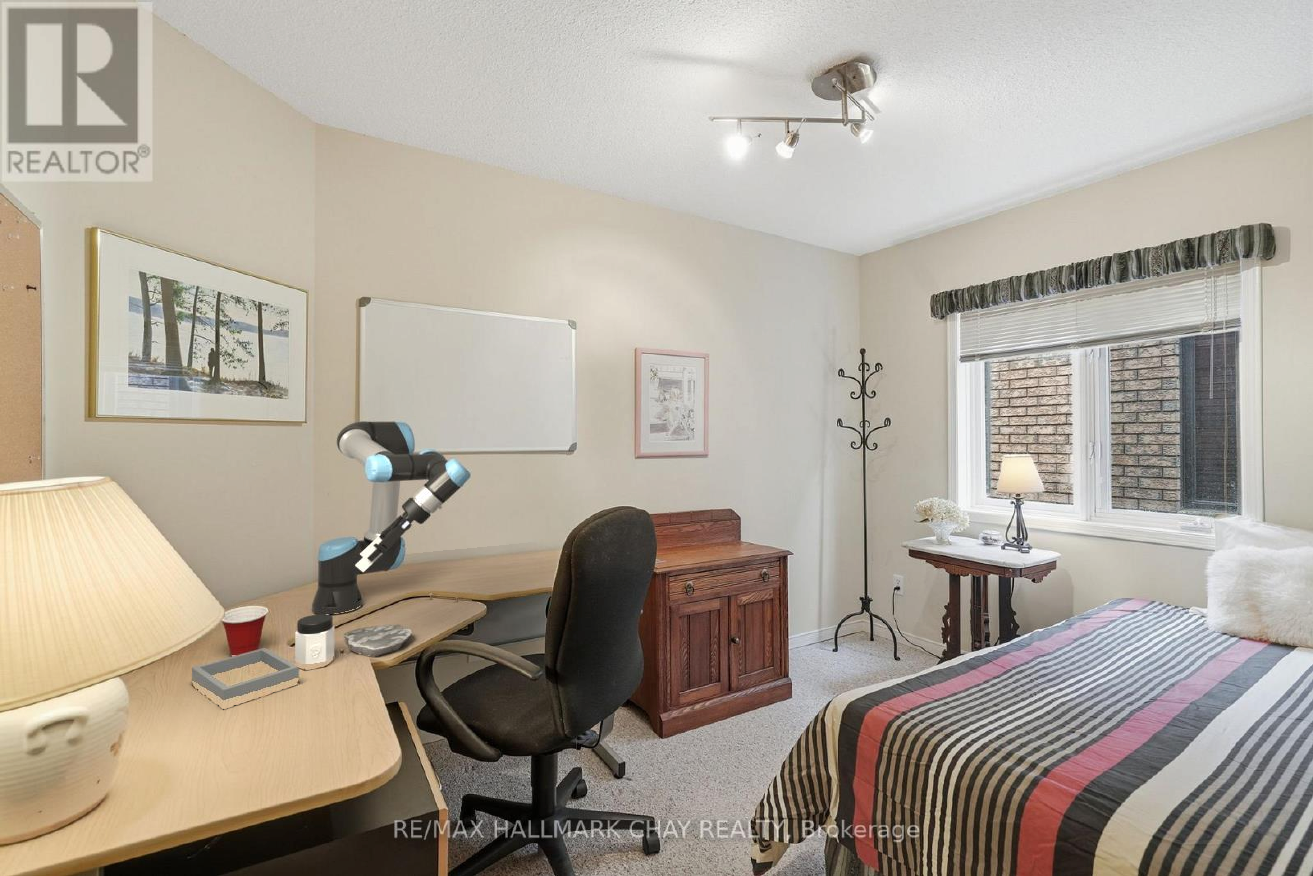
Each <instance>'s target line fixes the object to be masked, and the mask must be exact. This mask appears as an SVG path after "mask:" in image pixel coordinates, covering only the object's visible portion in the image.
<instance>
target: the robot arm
mask: <svg viewBox="0 0 1313 876" xmlns="http://www.w3.org/2000/svg"><path fill="white" fill-rule="evenodd" d="M415 443H416V442H415V437H414V433H413V430H412V428H411V427H410V425H409V424H407V423H406V422H402V421H363V420H361V421H355V422H352V423H350V424H348V425H346V426H345V427H343V428H342V429H341V430H340V432H338V435H337V438H336V446H337V449H338V451H340V453H341V454H342V455H344V456H345V457H347V458H349V459H354V460H356V461H357V462H358V463H360V464H361V465H362V466H364V467H365V469H364V472H365V475H366V478H367V480H368V481H369V482H371V483H372V491H371V503H370V505H371V506H370V517H369V527H368V528H369V529H367V531H365V532H364V534H363V539H362V540H359V539H358V538H357V537H355V536H347V537H337V538H333V539H330V540H328V541H325V542H323V543H322V544H320V546H319V548H318V553H317V554H318V555H317V564H318V566H317V569H318V570H317V574H318V576H317V579H318V580H317V582H318V583H317V590H316V592H315V595H314V599H313V601H312V603H311V611H312V613H313V612H314V613H313V614H315V613H317V614H316V615H318V614H334V613H341V612H345V611H349V610H352V609H356V608H357V607H359V606H361V605H362V606H363V596H362V594H361V591H360V588H359V585H358V576H359V575H365V574H373V573H380V572H388V571H391V570H395V569H397V568H399V567H401V565H402V564H403V563H404V559H405V555H406V547H405V546H406V542H405V539H404V537H402V536H403V535H404V534H405V533H406V532H407V531H408V530H409V529H411V527H412V525H413V524H412V523H413V522H414V521H415V522H416V523H417V524H419V525H422V524H424V523H425V522H426V521H427V520H428V519H430V517H431V514H434V513H435V512H437V510H438V509H439V510H442V508H443V506H442V505H444V503H445V502H447V501H448V500H449V499H450V498H451V497H452V496H453V495H454V494H455V493H456V492H457V491H459V490H460V489H461V488H462V487H463V486H464V485H465V483H466V482H468V480H469V479H470V478H471V474H472V473H471V472H470V471H469V470H468V469H467V468H465V466H464V465H463V464H462V463H460V461H459V460H457V459H456V458H451V459H450V460H447V458H446V456H444V454H442V453H440V452H439V451H438V450H436V449H433V448H426V449H424V450H422V451H420V452H418V453H417V454H415V453H414V452H415V449H416V448H415V446H416V445H415ZM424 480H425V481H426V482H425V483H424V484H423V485H422V486H421V487H420V488H418V490H417V491H415V493H413V494H412V495H413V497H409V498H408V499H407V500H406V501H405V502H404V503H402V505H401V508H402V510H403V511H404V512H403V513H402V514H401V515H399V516H398V511H399V499H400V486H401V482H403V481H406V482H407V481H424ZM427 480H428V481H427Z"/></svg>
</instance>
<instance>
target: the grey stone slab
mask: <svg viewBox="0 0 1313 876" xmlns="http://www.w3.org/2000/svg"><path fill="white" fill-rule="evenodd" d="M412 633H413V631H412V628H404V627H403V625H400V624H393V625H391V624H387V625H386V624H385V625H376V626H369V627H362V628H357V629H353V630H351V631H347V632H346V633H343V637H344V638H343V639H344V640H345V641H346V643H347V644H348V648H349V650H350V651H351V652H353V653H355V654H356V653H361V654H364V656H365V655H370V656H369V657H371V656H377V657H380V656H379V655H381V656H383V655H386V654H389V652H390V653H392V652H391V651H395V652H397V651H398V650H400V649H401V648H400V647H402V645H403V644H404V643H405V642H406V641H408V640H409V638H410V636H411V635H412ZM399 648H400V649H399ZM396 650H397V651H396ZM385 653H386V654H385ZM382 654H383V655H382Z"/></svg>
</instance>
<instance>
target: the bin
mask: <svg viewBox="0 0 1313 876" xmlns="http://www.w3.org/2000/svg"><path fill="white" fill-rule="evenodd" d="M260 661H262V662H264V663H265V664H268V665H269V666H270V667H272V668H274V669H276V670H278V671H277V672H274V673H271V674H267V675H264V676H261V677H258V678H254V679H251V680H248V681H245V682H241V683H238V684H235V685H232V686H229V687H227V686H226V685H225V684H223V683H222V682H220V681H219V680H217V679H216V678H214V677H213V676H212V675H215V674H217V673H222V672H226V671H229V670H232V669H235V668H241V667H243V666H246V665H249V664H255V663H257V662H260ZM294 678H299V679H300V669H299V667H298V666H297V665H295V663H293V662H291V661H289V660H288V659H285V658H284V657H282V656H280V655H279V654H276V653H275V652H273V651H271V650H269V649H268V648H266V647H263V648H258V650H255V651H251V652H247V653H244V654H240V655H236V656H233V657H232V656H229V657H227V658H226V657H225V658H223V659H218V660H214V661H212V662H208V663H204V664H201V665H197V666H194V667H191V682H192V681H194V682H196V683H198V684H199V685H200V686H202V687H204V688H206V689H207V690H209V691H211V692H213V693H214V694H215V695H216V696H219V697H220V698H221V699H222V700H226V699H229V698H233V697H236V696H242V695H244V694H248V693H250V692H253V691H258V690H261V689H263V688H266V687H271V686H274V685H277V684H280V683H281V682H286V681H289V680H292V679H294Z"/></svg>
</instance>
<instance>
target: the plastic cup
mask: <svg viewBox="0 0 1313 876" xmlns="http://www.w3.org/2000/svg"><path fill="white" fill-rule="evenodd" d="M267 614H269V609H268V608H267V607H266V606H261V605H246V606H241V607H240V606H239V607H237V608H232V609H229V610H227V611H225V617H224V618H223V619H222V620H220V621H221V622H222V624H223V627H224V630H225V635H226V639H227V644H228V648H229V654H230V656H231V655H240V654H244V653H247V652H251V651H255V650H258V649H259V647H260V642H261V640H262V639H261V637H262V634H263V633H262V632H263V627H264V623H265V620H266V616H267Z"/></svg>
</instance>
